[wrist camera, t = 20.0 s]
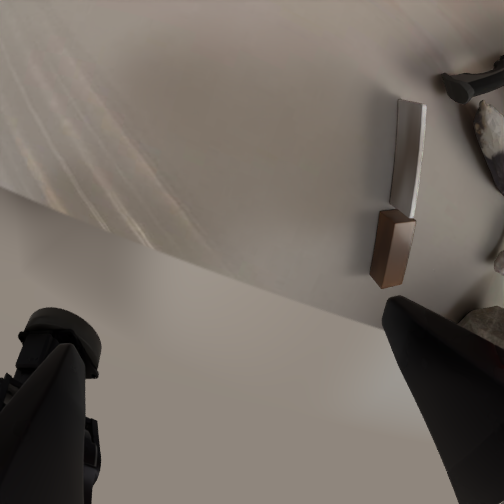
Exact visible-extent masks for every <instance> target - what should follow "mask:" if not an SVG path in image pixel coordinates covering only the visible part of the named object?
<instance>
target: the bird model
mask: <svg viewBox="0 0 504 504" xmlns="http://www.w3.org/2000/svg"><path fill="white" fill-rule="evenodd" d="M473 123H474V129H475V133H476V136H477V139H478V142H479V145H480V147H481V150H482V152H483V154H484V157H485V160H486V162H487V164H488V167H489V169H490V171H491V174H492V176H493V179H494V182H495V184H496V186H497V187H498V189H499V190H500V191H501V193H502V194H503V195H504V117H503V116H502V115H501V114H500V113H499V112H498V111H497V110H496V109H495V108H494V107H493V106H492V105H488V104H486V102H485V101H484V100H482V101H481V102H480V103H479V108H478V110H477V113H476V116H475V118H474V121H473Z"/></svg>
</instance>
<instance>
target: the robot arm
mask: <svg viewBox="0 0 504 504" xmlns="http://www.w3.org/2000/svg"><path fill="white" fill-rule="evenodd" d="M382 326H383V328H384V331H385V333H386V336H387V338H388V341H389V343H390V346H391V348H392V351H393V353H394V356H395V359H396V361H397V364H398V366H399V368H400V370H401V372H402V374H403V376H404V378H405V380H406V382H407V385H408V387H409V389H410V391H411V393H412V395H413V397H414V399H415V401H416V403H417V405H418V407H419V409H420V411H421V414H422V416H423V418H424V420H425V422H426V425H427V427H428V429H429V431H430V434H431V436H432V438H433V440H434V443H435V445H436V447H437V450H438V452H439V454H440V456H441V459H442V461H443V464H444V466H445V469H446V471H447V474H448V477H449V479H450V482H451V484H452V487H453V489H454V492H455V495H456V497H457V500H458V502H459V504H499V503H501V502H502V501H504V349H503V348H501V347H499V346H497V345H494V344H493V343H492V342H490V341H488V340H486V339H484V338H482V337H481V336H479V335H477V334H475V333H473V332H471V331H469V330H467V329H465V328H464V327H462V326H460V325H458V324H456V323H454V322H452V321H450V320H448V319H446V318H444V317H443V316H441V315H439V314H437V313H435V312H433V311H431V310H429V309H427V308H425V307H423V306H421V305H419V304H417V303H415V302H413V301H411V300H409V299H407V298H405V297H403V296H401V295H398V296H394V297H390V298H389V299H388V300H387V302H386V306H385V309H384V313H383V316H382ZM18 338H19V340H20V341H21V343H22V345H23V347H22V349H21V352H20V354H19V357H18V359H17V362H16V368H17V370H16V373H15V375H14V378H12V376H10V375H9V374H8V373H6V374H5V377H4V379H3V378H0V504H91V500H92V487H93V485H94V484H95V482H96V480H97V478H98V475H99V472H100V467H101V454H100V445H99V435H98V424H97V421H96V420H94V419H92V418H91V419H90V418H88V417H85V379H97V378H98V377H99V372H98V371H97V369H96V367H95V366H94V364H93V362H92V361H91V359H90V357H89V356H88V354H87V352H86V350H85V349H84V347H83V345H82V343H81V342H80V340H79V338H78V336H77V334H76V332H75V331H74V330H73V329H70V328H65V329H52V330H36V331H21V332H19V334H18ZM501 504H504V502H502V503H501Z"/></svg>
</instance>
